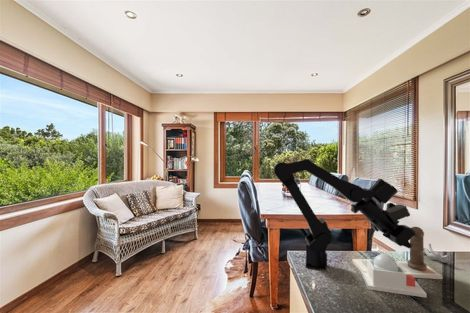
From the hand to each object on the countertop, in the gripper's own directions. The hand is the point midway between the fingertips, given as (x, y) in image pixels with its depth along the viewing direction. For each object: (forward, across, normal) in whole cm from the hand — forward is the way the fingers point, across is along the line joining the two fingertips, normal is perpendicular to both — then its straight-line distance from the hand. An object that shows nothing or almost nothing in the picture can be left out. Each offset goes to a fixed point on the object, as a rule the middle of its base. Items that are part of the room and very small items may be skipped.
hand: (409, 247), depth 80 cm
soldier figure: (+16, +11, -4) cm, 20 cm away
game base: (-2, -11, +13) cm, 18 cm away
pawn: (+6, 0, +3) cm, 7 cm away
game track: (+2, 0, +9) cm, 9 cm away
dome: (-5, -11, +12) cm, 17 cm away
